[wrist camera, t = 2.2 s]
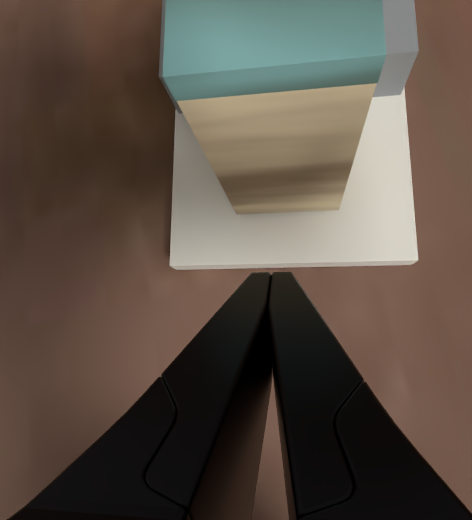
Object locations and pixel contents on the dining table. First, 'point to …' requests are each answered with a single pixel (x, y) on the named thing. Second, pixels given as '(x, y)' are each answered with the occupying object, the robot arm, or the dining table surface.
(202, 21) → the peg
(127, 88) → the dining table surface
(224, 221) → the block holder base
